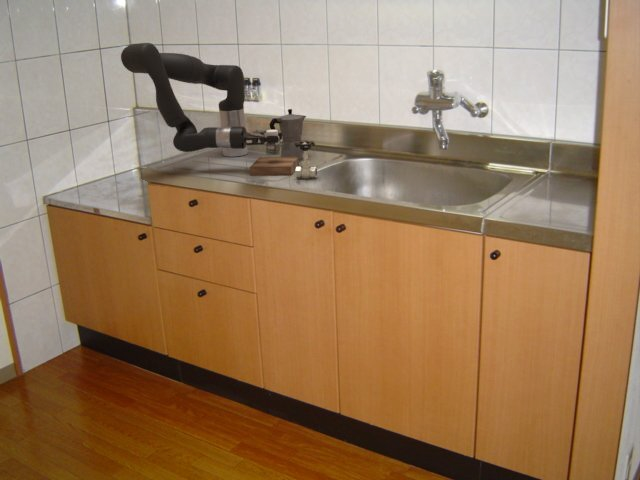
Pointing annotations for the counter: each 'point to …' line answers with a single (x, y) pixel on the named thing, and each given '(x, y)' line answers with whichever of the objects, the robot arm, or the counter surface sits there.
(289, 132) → the coffeepot
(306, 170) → the valve
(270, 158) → the stand
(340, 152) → the counter surface
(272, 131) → the pill bottle
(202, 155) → the counter surface
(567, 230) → the counter surface
